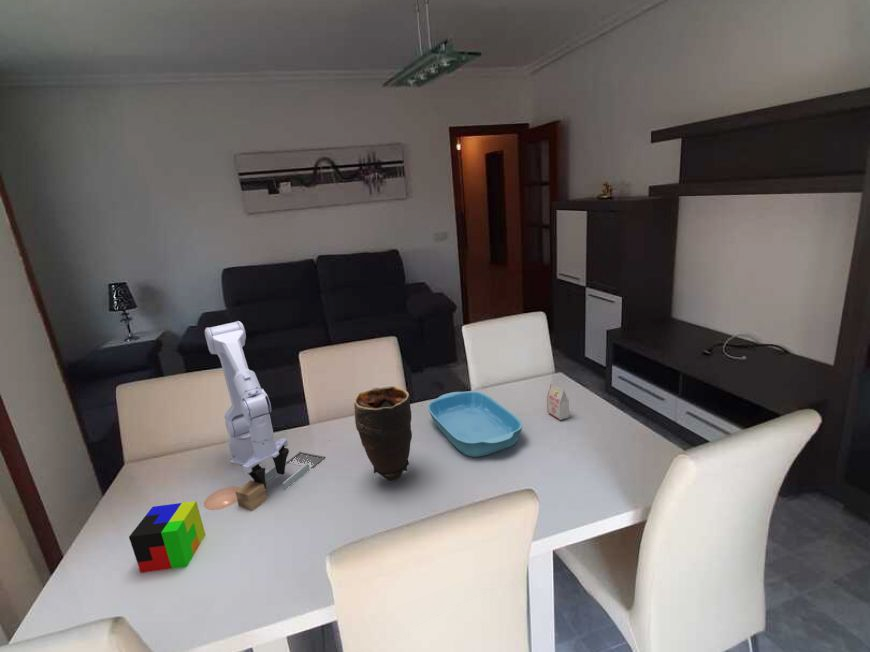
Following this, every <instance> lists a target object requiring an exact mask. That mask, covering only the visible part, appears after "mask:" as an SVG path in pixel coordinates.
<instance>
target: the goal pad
mask: <svg viewBox="0 0 870 652" xmlns="http://www.w3.org/2000/svg"><path fill="white" fill-rule="evenodd" d="M240 487H241V486H240ZM240 487H239V486H226V487H223V488H220V489H217V490H216V491H213V492H212V493H211V494H209V495H208V496H207V497H206V498H205V500H204V501H203V507H204V508H205V509H206V510H209V511H217V510H223V509H226V508H228V507H230V506H232V505H234V504H235V503H238V501H237V496H236V492H235V491H236V490H238V489H239V488H240Z"/></svg>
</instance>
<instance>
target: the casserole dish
mask: <svg viewBox="0 0 870 652" xmlns="http://www.w3.org/2000/svg"><path fill="white" fill-rule="evenodd" d="M427 409H428V412H429V415H430V416H431V419H432V421H433V422H434V424H435V425H436V427H437V428H438V429H439V431H440V432H441V433H442V434H443V435H444V436H445V437H446V439H448V440H449V442H450V443H451V444H452V445H453V446H454V447H455V448H456V449H457V450H458V451H459V452H461V453H462V454H463V455H465V456H469V457H473V458H476V457H479V458H480V457H483V456H487V455H491V454H493V453H497V452H499V451H502V450H506V449H508V448H510V447H513V446H514V445H515V444H516V443H517V441H518V439H519V437H520V434H521V432H522V429H523V422H522V421H521V419H520V418H519V417H518V416H516V415H515V414H514V413H513V412H511V411H510V409H508V408H506V407H505V406H503V404H501V403H500V402H498V401H497V400H495V398H492V397H491V396H489V395H487V394H486V393H484V392H481V391H477V390H476V391H475V390H470V391H469V390H468V391H453V392H449V393H444V394H441V395H440V396H438V397H437V398H436V399H433V400H431V401H429V402H428V404H427Z"/></svg>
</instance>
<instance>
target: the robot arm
mask: <svg viewBox="0 0 870 652" xmlns="http://www.w3.org/2000/svg"><path fill="white" fill-rule="evenodd" d="M246 334H247V333H246V329H245V326H244V324H243V323H242V322H241V321H239V320H236V321H234V322H230V323H224V324H221V325H217V326H211V327H205V329H204V336H205V337H204V338H205V340H206V344H207V348H208V351H209V353H210V355H217V356H218V358H219V361H220V364H221V368H222V372H223V376H224V379H225V383H226V386H227V390H228V394H229V395H228V396H229V399H230V403H231V405H230V407H229V408H228V409H227V410H226V411H225V413H224V420H225V422H224V423H225V427H226V431H227V433H228V436H229V439H228V446H229V450H230V456H231V460H230V461H229V462H230V463H231V464H235V465H240V466H242V470H243V472H244V473H246V474H248V475H249V476H250V477H251V478H252V479H253V480H252V481H255V482H258V483H262V484H264V487H265V490H266V489H267V481H266V482H265V473H266V469H267V468H265V467H262V465H260V464H262V463H263V462H265V461H268V460H270V459H272V460H273V462H274V466H275V468H276V471H277V474H278V475H282V476H283V475H285V470H286V467H285V463H286V464H287V458H288V455H289V453H290V450H289V448H287V446H288V445H289V441H288V439H287V438H284V437H281V438H279V439H277V440H276V439H275V438H276V437H275V434H274V430H273V425H272V420H271V419H272V418H271V414H270V413H272V405H271V401H270V399H269V395H268V394H267V392H266V391H265V390H264V388H262V387H261V384H260V382H259V380H258V377H257V374H256V373H255V371H254V370H251V369H249V366H248V363H247V360H246V357H245V353H244V350H243V347H244V346H245V345H246V338H247V335H246Z"/></svg>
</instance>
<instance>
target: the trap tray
mask: <svg viewBox="0 0 870 652" xmlns="http://www.w3.org/2000/svg"><path fill="white" fill-rule="evenodd" d="M301 454H303V455H301ZM307 455H308V456H307ZM306 456H307V457H306ZM295 457H296V458H295ZM317 457H318V458H317ZM294 458H295V459H296V460H297V462H298V460H299V462H300V463H303V462H304V464H305V462H306V461H307V463H309V462H311V465H313V464H314V465H313V466H312V467H311V468H310V469H312V468H313V469H314V468H315V467H317V466H318V465H319V464H320V463H322V462H323V461H324V460H325V459H326V456H323V455H319V454H315V453H314V454H313V453H308V452H302V451H299V452H297V453H296V454H295V455H294V456H292V457H290V459H288V460H286V464H290V463H289V462H290V461H291V462H292V461H293V459H294ZM297 458H298V459H297ZM299 458H300V459H299ZM303 459H304V460H305V461H304V460H303ZM307 459H308V460H307ZM310 460H311V461H310ZM322 460H323V461H322ZM294 461H295V460H294ZM302 461H303V462H302ZM308 461H309V462H308ZM293 463H294V462H293ZM312 463H313V464H312ZM298 464H299V463H298ZM317 464H318V465H317ZM316 465H317V466H316Z"/></svg>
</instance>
